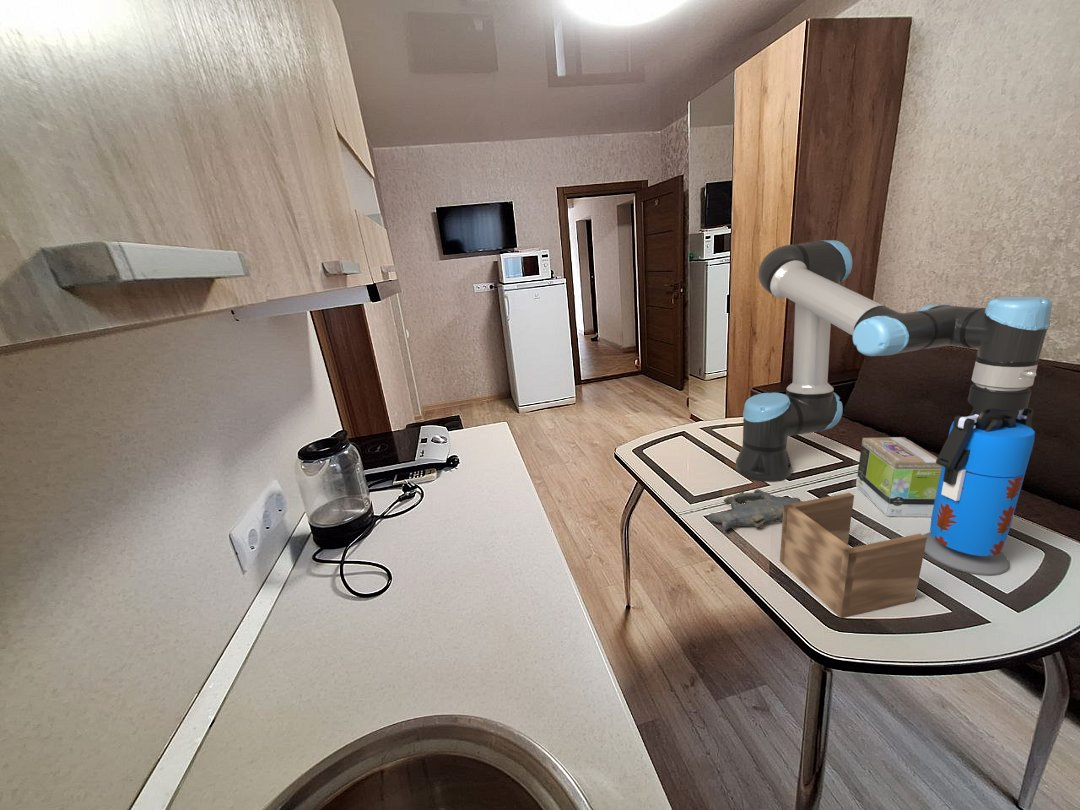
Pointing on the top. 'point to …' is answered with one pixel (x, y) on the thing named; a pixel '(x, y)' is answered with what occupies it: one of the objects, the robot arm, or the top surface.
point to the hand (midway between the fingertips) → (976, 492)
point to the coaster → (965, 559)
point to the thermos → (984, 492)
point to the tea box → (898, 476)
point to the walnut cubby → (847, 558)
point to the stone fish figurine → (752, 509)
